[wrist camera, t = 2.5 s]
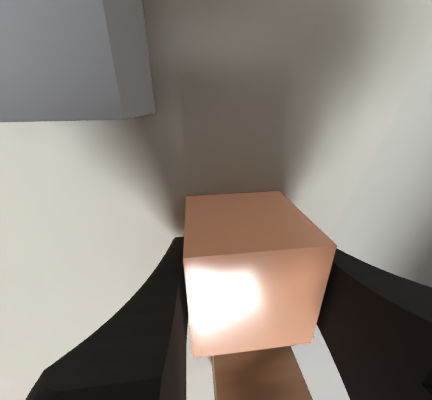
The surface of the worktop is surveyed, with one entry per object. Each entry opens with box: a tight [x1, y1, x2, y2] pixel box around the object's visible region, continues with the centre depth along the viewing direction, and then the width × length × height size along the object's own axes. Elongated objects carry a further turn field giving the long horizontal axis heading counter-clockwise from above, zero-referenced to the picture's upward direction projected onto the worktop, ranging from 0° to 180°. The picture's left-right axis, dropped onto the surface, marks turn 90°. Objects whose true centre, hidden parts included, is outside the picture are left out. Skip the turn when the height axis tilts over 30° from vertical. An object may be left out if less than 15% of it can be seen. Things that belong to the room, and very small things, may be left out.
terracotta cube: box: [183, 191, 337, 358], centre depth 10 cm, size 5×5×5 cm
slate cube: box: [0, 0, 156, 122], centre depth 6 cm, size 5×5×5 cm
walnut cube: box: [212, 346, 313, 400], centre depth 14 cm, size 5×5×5 cm
